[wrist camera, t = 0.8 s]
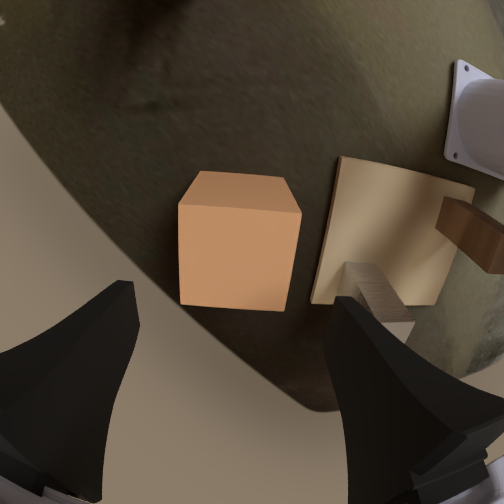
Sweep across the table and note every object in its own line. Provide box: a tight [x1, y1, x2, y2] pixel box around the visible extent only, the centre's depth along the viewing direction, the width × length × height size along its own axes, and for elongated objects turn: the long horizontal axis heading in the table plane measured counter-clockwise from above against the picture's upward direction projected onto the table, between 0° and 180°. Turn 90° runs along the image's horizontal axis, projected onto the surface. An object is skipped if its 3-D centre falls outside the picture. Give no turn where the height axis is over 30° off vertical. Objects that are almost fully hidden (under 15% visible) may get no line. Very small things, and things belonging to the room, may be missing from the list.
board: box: [310, 156, 475, 305], centre depth 20 cm, size 12×11×1 cm
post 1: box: [336, 262, 415, 344], centre depth 18 cm, size 3×3×7 cm
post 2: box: [435, 196, 504, 274], centre depth 16 cm, size 3×3×7 cm
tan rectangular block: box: [178, 171, 302, 311], centre depth 16 cm, size 5×5×7 cm
